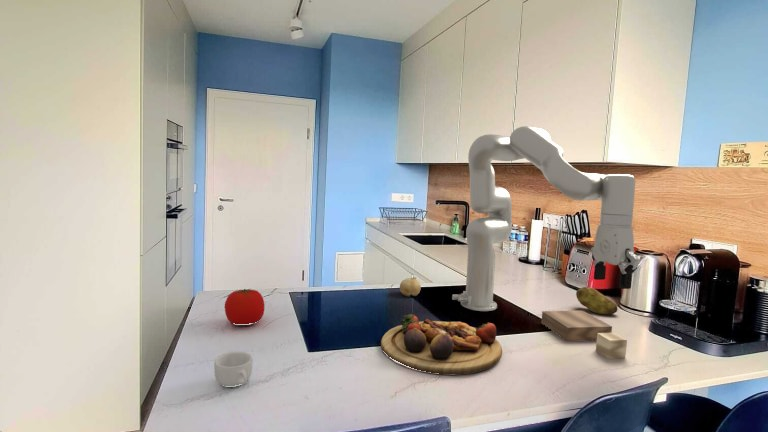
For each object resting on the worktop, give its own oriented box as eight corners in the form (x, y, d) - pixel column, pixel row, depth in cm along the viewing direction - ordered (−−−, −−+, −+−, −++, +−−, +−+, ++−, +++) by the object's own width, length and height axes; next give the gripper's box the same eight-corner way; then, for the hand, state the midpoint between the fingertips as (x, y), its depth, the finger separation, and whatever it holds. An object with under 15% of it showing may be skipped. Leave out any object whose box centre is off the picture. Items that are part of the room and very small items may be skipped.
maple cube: (608, 358, 110) (609, 340, 109) (595, 350, 115) (597, 333, 114) (625, 358, 111) (627, 339, 110) (612, 350, 116) (613, 332, 115)
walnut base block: (566, 341, 120) (567, 327, 120) (541, 323, 134) (542, 311, 134) (610, 339, 123) (612, 326, 122) (581, 322, 136) (582, 310, 136)
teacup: (208, 381, 91) (208, 357, 90) (243, 371, 96) (243, 348, 96) (227, 401, 84) (227, 375, 83) (263, 388, 89) (263, 364, 88)
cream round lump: (416, 299, 155) (417, 280, 154) (396, 296, 158) (397, 278, 157) (422, 293, 162) (423, 275, 162) (403, 291, 165) (403, 273, 164)
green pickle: (606, 319, 141) (608, 295, 140) (571, 307, 151) (573, 286, 150) (619, 315, 145) (621, 292, 144) (584, 304, 156) (586, 283, 155)
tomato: (261, 315, 133) (261, 282, 131) (268, 328, 122) (268, 293, 120) (223, 319, 128) (222, 285, 127) (226, 334, 117) (226, 297, 116)
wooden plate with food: (498, 333, 125) (499, 306, 124) (506, 385, 94) (508, 349, 93) (392, 324, 132) (393, 298, 131) (368, 369, 101) (368, 335, 100)
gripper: (582, 217, 120) (578, 276, 121) (627, 224, 103) (622, 292, 104) (606, 217, 121) (602, 276, 123) (654, 224, 104) (648, 292, 106)
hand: (611, 283), depth 114 cm, fingers open, 9 cm apart
